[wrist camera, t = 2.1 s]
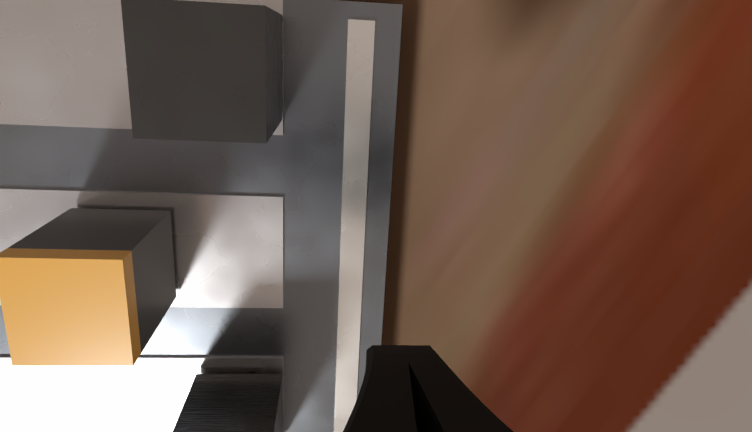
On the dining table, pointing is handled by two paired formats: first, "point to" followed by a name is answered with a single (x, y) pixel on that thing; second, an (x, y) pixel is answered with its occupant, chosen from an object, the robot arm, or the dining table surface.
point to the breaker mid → (88, 287)
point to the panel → (210, 198)
